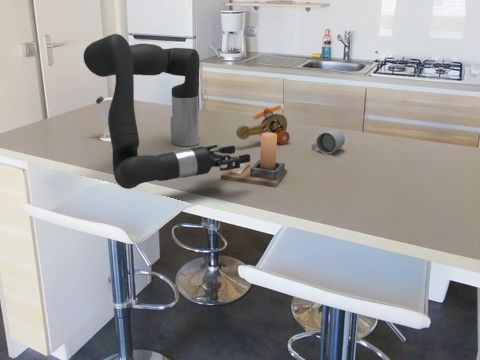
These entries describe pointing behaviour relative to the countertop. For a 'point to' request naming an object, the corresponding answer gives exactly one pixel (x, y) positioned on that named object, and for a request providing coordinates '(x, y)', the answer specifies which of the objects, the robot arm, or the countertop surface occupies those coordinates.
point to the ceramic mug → (329, 141)
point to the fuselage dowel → (268, 151)
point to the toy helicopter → (267, 126)
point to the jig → (256, 174)
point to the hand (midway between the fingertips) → (241, 153)
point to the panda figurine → (104, 115)
